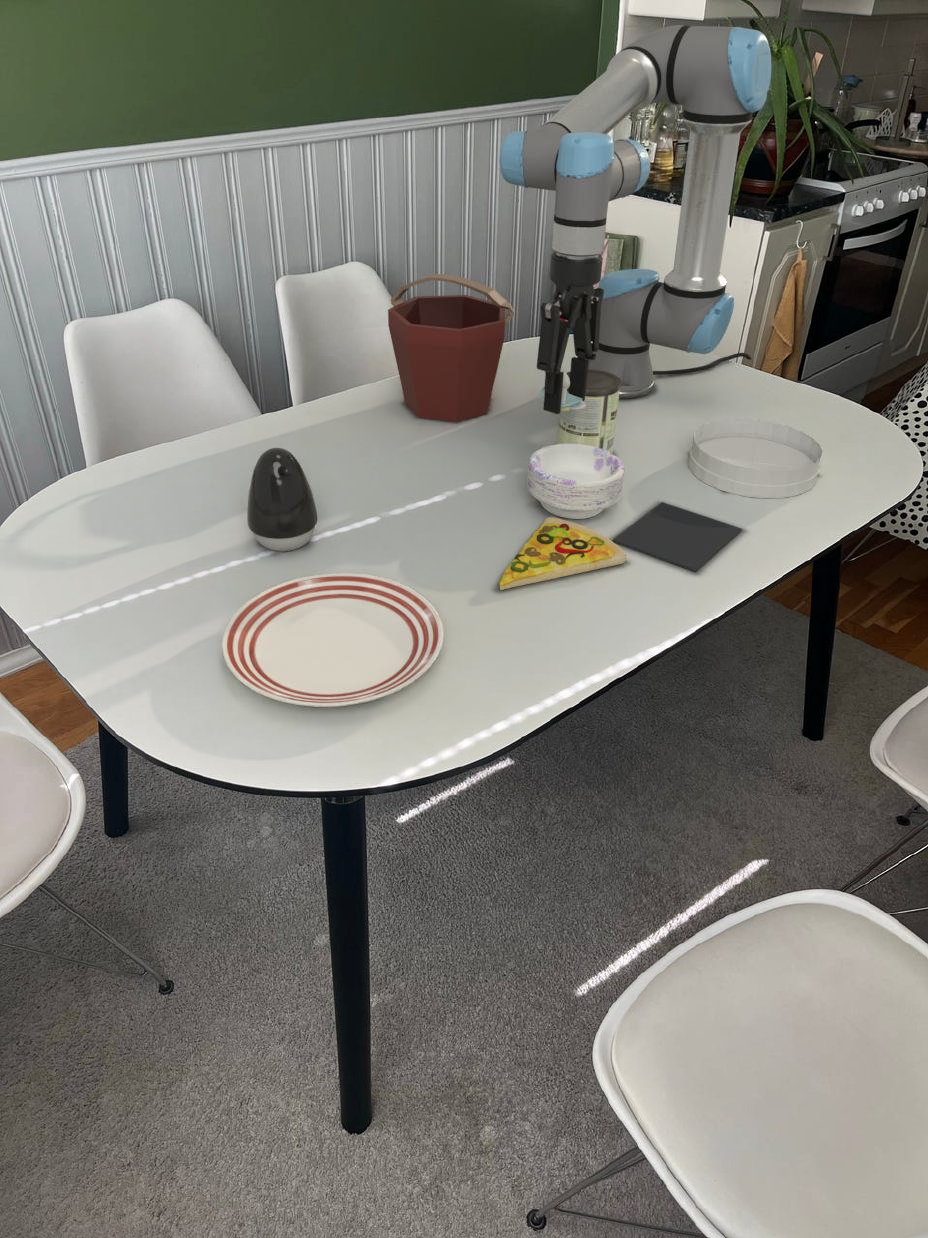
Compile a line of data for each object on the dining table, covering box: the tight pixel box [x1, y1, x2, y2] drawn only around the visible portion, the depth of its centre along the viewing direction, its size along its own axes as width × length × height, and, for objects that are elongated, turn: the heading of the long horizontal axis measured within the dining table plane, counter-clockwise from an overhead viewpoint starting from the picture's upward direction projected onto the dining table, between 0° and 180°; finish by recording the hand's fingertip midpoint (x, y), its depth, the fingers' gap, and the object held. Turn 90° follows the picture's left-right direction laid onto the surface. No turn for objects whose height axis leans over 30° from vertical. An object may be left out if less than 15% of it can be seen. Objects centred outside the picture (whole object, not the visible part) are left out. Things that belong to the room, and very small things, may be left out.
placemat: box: [612, 501, 743, 573], centre depth 146 cm, size 16×14×1 cm
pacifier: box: [540, 369, 586, 411], centre depth 148 cm, size 7×6×6 cm
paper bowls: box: [526, 443, 626, 520], centre depth 151 cm, size 15×15×8 cm
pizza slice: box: [499, 516, 627, 591], centre depth 137 cm, size 16×21×3 cm
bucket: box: [387, 273, 515, 423], centre depth 181 cm, size 24×22×25 cm
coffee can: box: [556, 369, 621, 454], centre depth 166 cm, size 10×10×14 cm
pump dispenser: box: [246, 447, 318, 552], centre depth 138 cm, size 10×10×15 cm
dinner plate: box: [221, 572, 445, 708], centre depth 119 cm, size 27×27×3 cm
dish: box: [687, 418, 823, 499], centre depth 165 cm, size 22×22×5 cm
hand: (564, 404), depth 150 cm, fingers closed on pacifier, 6 cm apart
